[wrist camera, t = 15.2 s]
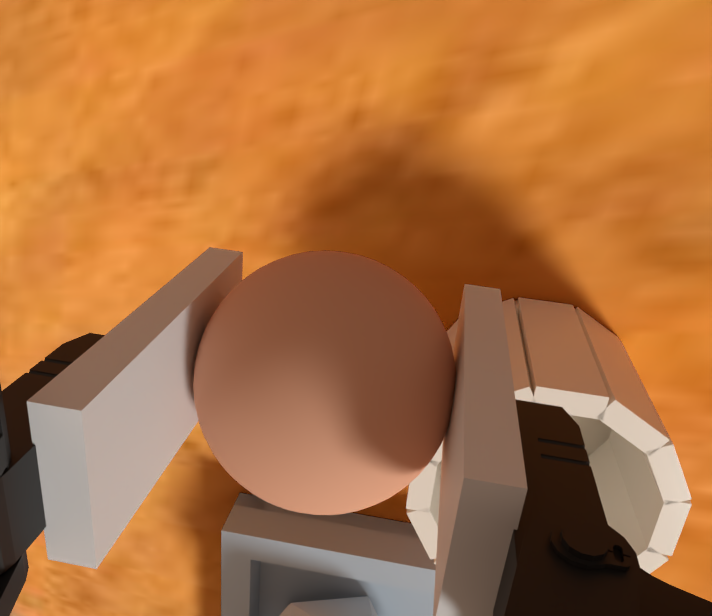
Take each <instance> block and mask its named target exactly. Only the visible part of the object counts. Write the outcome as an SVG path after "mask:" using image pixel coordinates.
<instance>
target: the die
mask: <svg viewBox="0 0 712 616" xmlns="http://www.w3.org/2000/svg"><path fill="white" fill-rule="evenodd" d="M279 616H378V615H377V613H376V611H375V609H374V607H373V605H372V603H371V601H370V599H369V596H363V597H352V598H341V599H329V600H318V601H306V602H295V603H290V604H289V605H288V606H287V607H286V608H285V609H284V610H283V612H282V613H281V614H280V615H279Z"/></svg>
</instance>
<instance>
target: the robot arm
mask: <svg viewBox="0 0 712 616" xmlns="http://www.w3.org/2000/svg"><path fill="white" fill-rule="evenodd" d="M242 261H243V252H239V251H232V250H225V249H218V248H211V247H210V248H208V249H207V250H206V251H205V252H204V253H203V254H201V255H200V256H199V257H198V258H197V259H195V260H194V261H193V262H192V263H191V264H189V265H188V266H187V267H186V268H185V269H183V270H182V271H181V272H180V273H179V274H177V275H176V276H175V277H174V278H173V279H172V280H170V281H169V282H168V283H167V284H166V285H164V286H163V287H162V288H161V289H160V290H158V291H157V292H156V293H155V294H154V295H152V296H151V297H150V298H149V299H148V300H147V301H145V302H144V303H143V304H142V305H141V306H139V307H138V308H137V309H136V310H135V311H133V312H132V313H131V314H130V315H129V316H127V317H126V318H125V319H124V320H123V321H122V322H120V323H119V324H118V325H117V326H116V327H114V328H113V329H112V330H111V331H110V332H108V333H107V334H106V335H99V334H93V333H89V334H86V335H84V336H81V337H79V338H76V339H74V340H71V341H69V342H66V343H64V344H62V345H61V346H60V347H58V348H57V349H56V350H55V351H53V352H52V353H51V354H49V355H48V356H47V357H45V361H40V362H39V363H38V364H36V365H35V366H34V367H33V368H31V369H30V372H29V373H25V374H24V375H22V376H21V377H20V378H18V379H17V380H16V381H14V382H13V383H12V384H11V385H9V386H8V387H7V388H5V389H4V390H3V391H1V384H0V616H9V615H10V613H11V611H12V609H13V607H14V605H15V602H16V600H17V598H18V596H19V594H20V592H21V590H22V588H23V585H24V583H25V581H26V577H27V572H28V568H29V567H28V560H27V554H26V550H27V548H28V547H29V546H30V545H31V544H32V543H33V541H34V540H35V539H36V538H37V537H38V536H39V534H40V533H41V532H42V531H43V530H44V533H45V541H46V548H47V555H48V559H49V560H54V561H59V562H64V563H69V564H74V565H79V566H84V567H89V568H94V569H97V568H98V566H99V565H100V563H101V562H102V560H103V559H104V558H105V556H106V555H107V553H108V552H109V550H110V549H111V547H112V546H113V544H114V543H115V542H116V540H117V539H118V537H119V536H120V534H121V533H122V531H123V530H124V528H125V527H126V526H127V524H128V523H129V521H130V520H131V518H132V517H133V515H134V514H135V512H136V511H137V510H138V508H139V507H140V505H141V504H142V502H143V501H144V499H145V498H146V496H147V495H148V493H149V492H150V491H151V489H152V488H153V486H154V485H155V483H156V482H157V480H158V479H159V477H160V476H161V475H162V473H163V472H164V470H165V469H166V467H167V466H168V464H169V463H170V461H171V460H172V459H173V457H174V456H175V454H176V453H177V451H178V450H179V448H180V447H181V445H182V444H183V443H184V441H185V440H186V438H187V437H188V435H189V434H190V432H191V431H192V429H193V428H194V427H195V425H196V424H197V422H198V416H197V412H196V407H195V401H194V390H193V381H194V367H195V360H196V355H197V351H198V347H199V344H200V341H201V339H202V336H203V333H204V331H205V328H206V325H207V324H208V322H209V320H210V318H211V317H212V315H213V313H214V312H215V310H216V309H217V307H218V306H219V304H220V303H221V302H222V301H223V299H224V298H225V297H226V296H227V294H228V293H229V292H230V291H231V290H232V289H233V288H235V287H236V286H237V285H238V284H239V283H240V282H241V281H242ZM453 355H454V360H455V367H456V380H455V390H454V398H453V405H452V411H451V417H450V422H449V426H448V429H447V432H446V434H445V436H444V439H443V446H442V464H441V482H440V500H439V517H438V535H437V553H436V571H435V589H434V607H433V616H712V602H710V601H707V600H705V599H702V598H700V597H698V596H695V595H693V594H690V593H688V592H686V591H683V590H681V589H679V588H676V587H674V586H671V585H669V584H667V583H665V582H663V581H661V580H659V579H657V578H655V577H653V576H652V575H650V574H649V573H647V572H646V571H644V570H643V569H641V568H640V565H639V562H638V558H637V554H636V552H635V551H634V549H633V548H632V547H631V545H630V544H629V543H628V542H627V540H626V539H625V538H624V537H623V536H622V535H621V534H619V533H618V532H617V531H615V530H614V529H613V528H612V527H610V526H609V525H608V523H607V520H606V516H605V513H604V509H603V506H602V503H601V499H600V496H599V492H598V489H597V485H596V482H595V478H594V475H593V472H592V468H591V466H589V464H590V461H589V458H588V454H587V451H586V449H585V444H584V440H583V437H582V434H581V430H580V427H579V425H578V424H577V423H576V422H575V421H574V420H573V418H572V417H571V416H570V415H569V414H568V413H567V412H566V411H565V410H564V409H563V407H559V406H553V405H547V404H541V403H535V402H528V401H522V400H516V399H515V393H514V385H513V378H512V371H511V363H510V356H509V349H508V341H507V334H506V327H505V319H504V312H503V305H502V297H501V290H500V289H497V288H490V287H483V286H476V285H469V284H465V285H464V290H463V296H462V302H461V307H460V313H459V319H458V324H457V330H456V336H455V342H454V347H453Z"/></svg>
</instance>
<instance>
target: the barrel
mask: <svg viewBox="0 0 712 616" xmlns="http://www.w3.org/2000/svg"><path fill="white" fill-rule="evenodd" d="M502 305H503V312H504V319H505V327H506V334H507V341H508V349H509V356H510V363H511V371H512V378H513V385H514V393H515V399H516V400H522V401H528V402H535V403H541V404H547V405H553V406H559V407H563V409H564V410H565V411H566V412H567V413H568V414H569V415H570V416H571V417H572V418H573V420H574V421H575V422H576V423H577V424H578V425H579V427H580V430H581V434H582V437H583V440H584V444H585V449H586V451H587V454H588V458H589V461H590V464H589V466H591V468H592V472H593V475H594V478H595V482H596V485H597V489H598V492H599V496H600V499H601V503H602V506H603V509H604V513H605V516H606V520H607V523H608V525H609V526H610V527H612V528H613V529H614V530H615V531H617V532H618V533H619V534H621V535H622V536H623V537H624V538H625V539H626V540H627V542H628V543H629V544H630V545H631V547H632V548H633V549H634V551H635V552H636V554H637V558H638V562H639V565H640V568H641V569H643V570H644V571H646V572H647V573H649V574H650V573H651V572H653V571H654V570H655V569H657V568H658V567H660V566H661V565H662V564H664V563H665V562H666V561H668V560H669V559H668V557H667V555H670V556H672V554H673V552H674V549H675V546H676V544H677V541H678V539H679V536H680V533H681V531H682V528H683V526H684V523H685V520H686V518H687V515H688V512H689V510H690V507H691V505H692V504H691V502H690V500H691V499H692V498H691V495H690V492H689V489H688V486H687V484H686V481H685V478H684V475H683V472H682V469H681V466H680V463H679V460H678V457H677V454H676V451H675V448H674V445H673V443H672V441H671V439H670V437H669V435H668V433H667V431H666V429H665V427H664V425H663V423H662V421H661V419H660V417H659V415H658V413H657V411H656V409H655V407H654V405H653V403H652V401H651V399H650V397H649V395H648V393H647V391H646V389H645V387H644V385H643V383H642V382H641V380H640V378H639V376H638V374H637V372H636V370H635V368H634V366H633V364H632V362H631V360H630V358H629V356H628V354H627V352H626V350H625V348H624V346H623V344H622V342H621V341H620V340H619V338H618V337H617V336H616V335H614V334H613V333H612V332H610V331H609V330H608V329H606V328H605V327H604V326H602V325H601V324H600V323H598V322H597V321H596V320H594V319H593V318H592V317H590V316H589V315H588V314H586V313H585V312H584V311H582V310H581V309H580V308H578V307H576V308H575V309H574V307H573V305H571V304H563V303H556V302H549V301H542V300H535V299H527V298H520V297H518V300H516V301H515V300H514V298H511V299H508V300H505V301H503V302H502ZM457 324H458V320H457V321H456V322H455V323H454V324H453V325H452V326H451V328H450V329H449V330H448V331H447V335H448V337H449V340H450V343H451V346H452V350H453V347H454V342H455V336H456V330H457ZM442 446H443V441H442V443H441V446H440V447H439V449H438V450H437V452H436V454H435V455H434V457H433V458H432V460H431V461H430V462H429V464H428V465H427V466H426V467H425V468H424V470H423V471H422V472H421V473H420V474H419V475H418V476H417V477H416V478H415V479H414V480H413V481H412V482H411V483H409V486H408V494H407V502H406V509H407V515H408V517H409V519H410V521H411V523H412V525H413V527H414V529H415V531H416V533H417V535H418V537H419V538H420V540H421V542H422V544H423V546H424V548H425V550H426V552H427V554H428V556H429V558H430V560H431V559H434V564H435V565H436V553H437V535H438V517H439V500H440V482H441V464H442Z"/></svg>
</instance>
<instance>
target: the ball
mask: <svg viewBox="0 0 712 616" xmlns="http://www.w3.org/2000/svg"><path fill="white" fill-rule="evenodd" d="M455 380H456V367H455V360H454V355H453V350H452V346H451V343H450V340H449V337H448V335H447V332H446V330H445V328H444V326H443V324H442V322H441V320H440V318H439V316H438V314H437V312H436V311H435V309H434V308H433V306H432V305H431V304H430V302H429V301H428V299H427V298H426V297H425V296H424V295H423V294H422V293H421V292H420V291H419V290H418V288H417V287H416V286H414V285H413V284H412V283H411V282H410V281H408V280H407V279H406V278H405V277H404V276H402V275H400V274H399V273H397V272H396V271H394V270H393V269H391V268H390V267H388V266H386V265H384V264H382V263H379V262H377V261H375V260H373V259H370V258H367V257H364V256H361V255H356V254H351V253H346V252H339V251H309V252H304V253H299V254H293V255H290V256H287V257H284V258H281V259H278V260H276V261H273V262H271V263H269V264H267V265H265V266H263V267H261V268H259V269H258V270H256V271H255V272H253V273H252V274H250V275H249V276H247V277H246V278H245V279H244V280H242V281H241V282H240V283H239V284H238V285H237V286H236V287H235V288H233V289H232V290H231V291H230V292H229V293H228V294H227V296H226V297H225V298H224V299H223V301H222V302H221V303H220V304H219V306H218V307H217V309H216V310H215V312H214V313H213V315H212V317H211V318H210V320H209V322H208V324H207V325H206V328H205V331H204V333H203V336H202V339H201V341H200V344H199V347H198V351H197V355H196V360H195V367H194V381H193V390H194V401H195V407H196V412H197V416H198V421H199V424H200V427H201V429H202V432H203V435H204V437H205V439H206V441H207V443H208V444H209V446H210V448H211V450H212V452H213V454H214V455H215V457H216V458H217V460H218V461H219V463H220V464H221V465H222V467H223V468H224V469H225V470H226V471H227V472H228V473H229V475H230V476H231V477H233V478H234V479H235V480H236V481H237V482H238V483H239V484H240V485H242V486H243V487H244V488H246V489H247V490H248V491H250V492H251V493H252V494H254V495H256V496H257V497H259V498H261V499H262V500H264V501H266V502H268V503H271V504H273V505H275V506H278V507H281V508H283V509H286V510H290V511H294V512H299V513H305V514H313V515H337V514H345V513H350V512H355V511H359V510H362V509H365V508H368V507H370V506H373V505H376V504H378V503H380V502H382V501H384V500H386V499H388V498H390V497H392V496H393V495H395V494H396V493H398V492H399V491H401V490H402V489H403V488H405V487H406V486H407V485H408V484H409V483H411V482H412V481H413V480H414V479H415V478H416V477H417V476H418V475H419V474H420V473H421V472H422V471H423V470H424V468H425V467H426V466H427V465H428V464H429V462H430V461H431V460H432V458H433V457H434V455H435V454H436V452H437V450H438V449H439V447H440V446H441V443H442V441H443V439H444V436H445V434H446V432H447V429H448V426H449V422H450V417H451V411H452V405H453V398H454V390H455Z"/></svg>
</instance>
